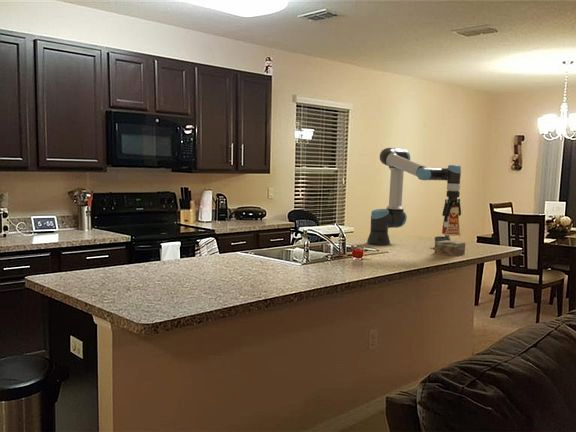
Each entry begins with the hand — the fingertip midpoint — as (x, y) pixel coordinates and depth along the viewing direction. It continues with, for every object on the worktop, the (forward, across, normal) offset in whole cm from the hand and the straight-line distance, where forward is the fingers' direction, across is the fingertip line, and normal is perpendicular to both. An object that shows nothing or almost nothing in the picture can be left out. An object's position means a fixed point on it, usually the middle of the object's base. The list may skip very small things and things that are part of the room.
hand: (451, 226), depth 323 cm
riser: (+17, 0, 0) cm, 17 cm away
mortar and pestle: (+17, +18, +15) cm, 29 cm away
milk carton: (+5, 0, 0) cm, 5 cm away
